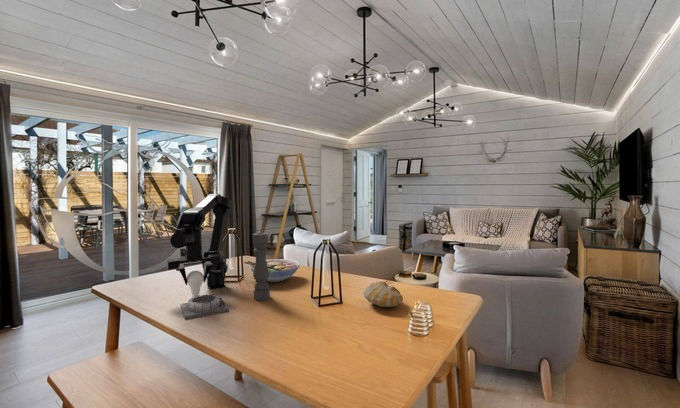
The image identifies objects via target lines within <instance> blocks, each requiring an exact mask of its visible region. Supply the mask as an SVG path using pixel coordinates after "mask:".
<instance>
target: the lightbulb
mask: <svg viewBox="0 0 680 408" xmlns="http://www.w3.org/2000/svg"><path fill="white" fill-rule="evenodd" d="M203 275H204V273H202V272H201V271H199V270H192V271H190V272H189V273H188V275H186V278H187V285H188V286H189V288H190V291H191V292H190V293H191V298H193V297H196V296H200V295H201V294H200V292H201V288H202V285H203V283H204V282H203V280H204V276H203Z"/></svg>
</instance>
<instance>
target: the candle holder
mask: <svg viewBox="0 0 680 408" xmlns="http://www.w3.org/2000/svg"><path fill="white" fill-rule="evenodd" d="M268 233H269V232H268ZM268 233H267V232H255V233H253V234H252V243H253V246H254V249H253V253H254V254H255V262H256V263H255V262H254V263H255V268H254V273H253V272H252V273H253V274H252V276H253V279H254V280H255V284H254V285H253V288H254V289H253V300H254V301H257V302H263V301H267V300H270V298H271V288H270V284H269V283H268V281H267V279H268V277H269V270H268V266H267V262H266V260H267V252H268V248H267V245H268V242H269V238H268V237H269V235H268Z"/></svg>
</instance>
